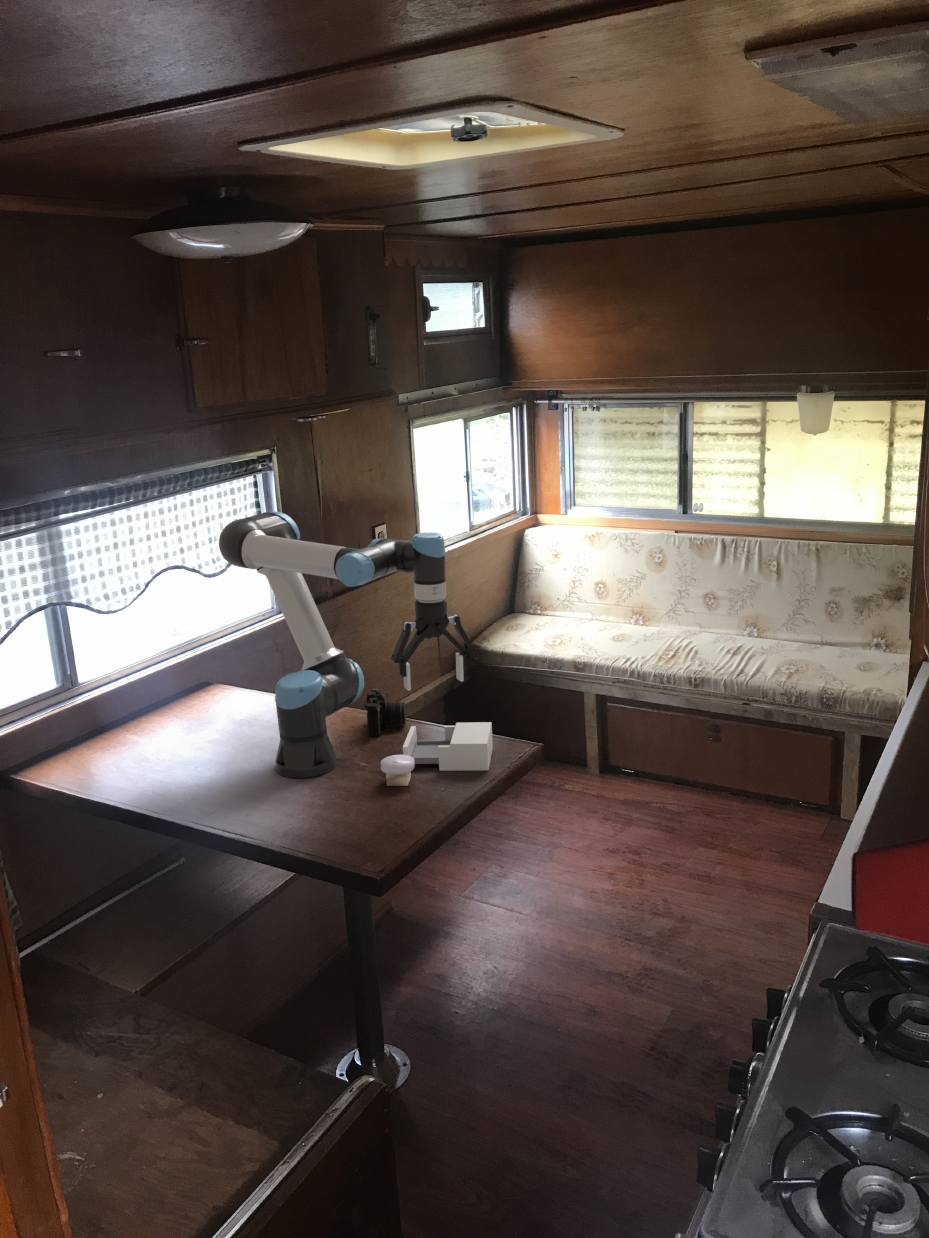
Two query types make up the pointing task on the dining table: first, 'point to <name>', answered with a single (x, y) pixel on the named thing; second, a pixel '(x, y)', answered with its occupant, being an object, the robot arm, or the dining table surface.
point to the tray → (422, 748)
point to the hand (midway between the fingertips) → (434, 684)
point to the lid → (397, 764)
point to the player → (466, 747)
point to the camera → (382, 712)
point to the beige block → (398, 779)
